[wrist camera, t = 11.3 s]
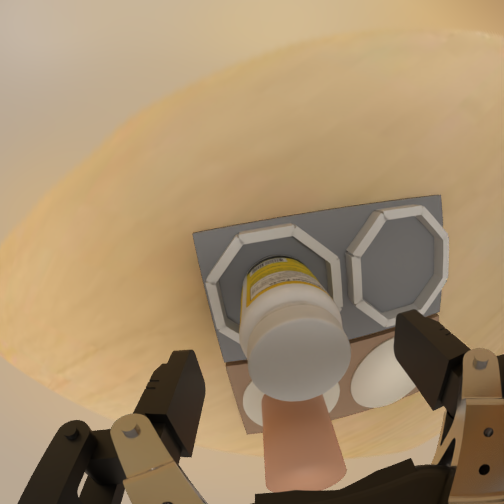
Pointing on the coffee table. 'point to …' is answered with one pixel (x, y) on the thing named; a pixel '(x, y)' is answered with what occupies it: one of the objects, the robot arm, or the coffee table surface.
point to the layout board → (351, 310)
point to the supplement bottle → (291, 331)
